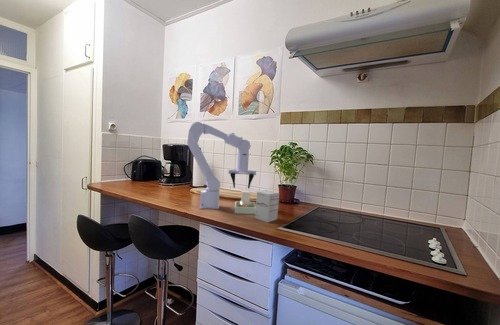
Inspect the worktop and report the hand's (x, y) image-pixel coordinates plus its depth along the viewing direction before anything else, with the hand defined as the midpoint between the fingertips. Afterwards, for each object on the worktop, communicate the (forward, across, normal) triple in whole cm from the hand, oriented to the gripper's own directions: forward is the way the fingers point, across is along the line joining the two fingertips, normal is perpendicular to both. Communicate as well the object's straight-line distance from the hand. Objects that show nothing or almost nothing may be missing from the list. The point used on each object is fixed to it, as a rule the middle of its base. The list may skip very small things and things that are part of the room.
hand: (241, 187), depth 124 cm
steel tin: (+10, +2, -7) cm, 12 cm away
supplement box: (+11, +12, -21) cm, 26 cm away
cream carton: (+6, +2, -7) cm, 9 cm away
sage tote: (+10, +2, -8) cm, 13 cm away
